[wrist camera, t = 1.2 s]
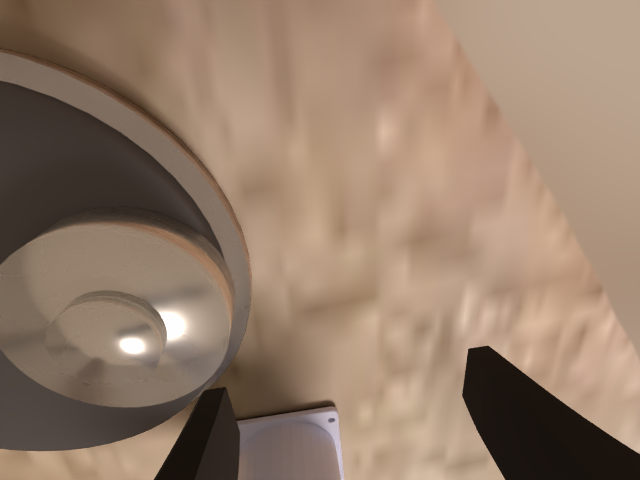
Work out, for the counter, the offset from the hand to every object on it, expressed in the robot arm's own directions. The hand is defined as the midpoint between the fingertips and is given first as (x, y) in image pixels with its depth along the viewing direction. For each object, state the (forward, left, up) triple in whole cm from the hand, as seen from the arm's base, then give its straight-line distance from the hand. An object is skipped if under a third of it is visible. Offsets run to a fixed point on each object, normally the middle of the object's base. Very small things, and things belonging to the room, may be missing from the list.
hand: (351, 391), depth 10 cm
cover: (0, +9, -7) cm, 11 cm away
